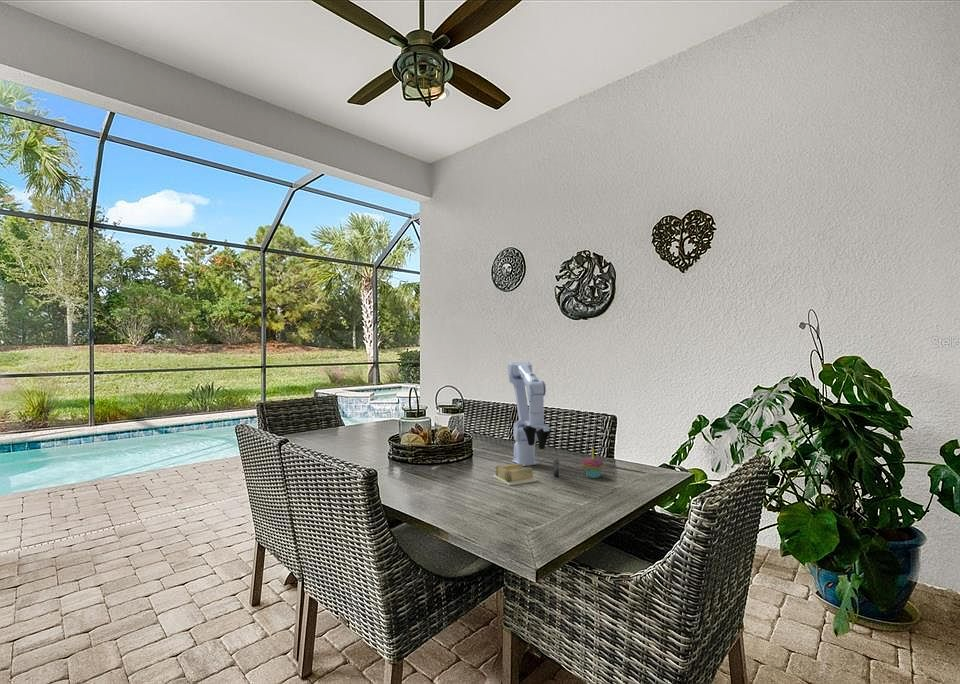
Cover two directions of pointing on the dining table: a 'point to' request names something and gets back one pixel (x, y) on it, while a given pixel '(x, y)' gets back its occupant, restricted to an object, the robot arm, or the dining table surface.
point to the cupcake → (592, 466)
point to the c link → (514, 472)
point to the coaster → (515, 481)
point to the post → (556, 468)
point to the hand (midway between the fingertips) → (536, 446)
